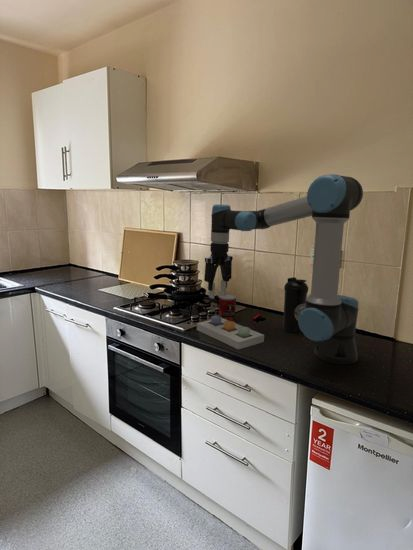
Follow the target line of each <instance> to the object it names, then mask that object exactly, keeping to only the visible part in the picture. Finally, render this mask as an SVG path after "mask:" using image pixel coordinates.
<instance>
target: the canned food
mask: <svg viewBox="0 0 413 550" xmlns="http://www.w3.org/2000/svg"><path fill="white" fill-rule="evenodd" d="M218 302H219V303H218V316H221V317H222V318H223V319H226V320H228V321H235V320H236V319H235V318H236V307H237V306H236V305H237V297H236V296H235V295H233V294H226V296H225V297H224V296H221V295H219V301H218Z"/></svg>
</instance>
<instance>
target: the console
mask: <svg viewBox="0 0 413 550" xmlns="http://www.w3.org/2000/svg"><path fill="white" fill-rule="evenodd" d="M225 321H228V320H226V319H223V318H221V325H218V326H214V325H212V324H211V319H209V320H206V321H200V322H198V323H196V331H198V332H200V333H202V334H205V335H207V336H209V337H211V338H214V339H215V340H218V341H219V342H221V343H224V344H226V345H228V346H230V347H231V348H234V349H236V350H241V349H246V348H248V347H251V346H255V345H258V344H262V343H264V341H265V334H262V333H260V332H259V331H255V330H253V329H251V328H250V333H249V337H247V338H242V337H239V336H238V331H239V327H242V326H243V325H241V324H239V323H236V322H235V331H231V332H228V331H226V330H224V322H225Z"/></svg>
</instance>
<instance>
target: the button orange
mask: <svg viewBox="0 0 413 550" xmlns="http://www.w3.org/2000/svg"><path fill="white" fill-rule="evenodd" d="M235 323H236V322H235V320H233V321H225V322H224V330H226V331H228V332H231V331H235Z"/></svg>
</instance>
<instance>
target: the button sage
mask: <svg viewBox="0 0 413 550" xmlns="http://www.w3.org/2000/svg"><path fill="white" fill-rule="evenodd" d="M241 326H242V327H239V331H238V336H239V337H242V338H247V337H249V333H250V329H251V328H250V327H248V326H245V325H241Z"/></svg>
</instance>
